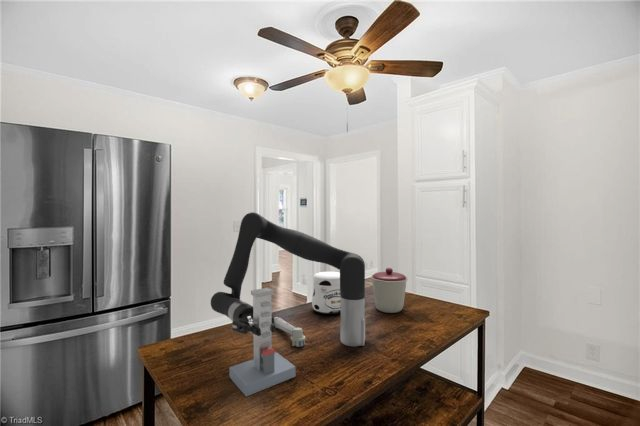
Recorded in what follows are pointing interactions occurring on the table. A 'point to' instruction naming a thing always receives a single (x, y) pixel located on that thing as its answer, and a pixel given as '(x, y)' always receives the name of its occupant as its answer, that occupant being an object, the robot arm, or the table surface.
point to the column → (262, 323)
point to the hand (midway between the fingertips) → (266, 330)
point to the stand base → (262, 373)
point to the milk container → (326, 293)
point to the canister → (389, 290)
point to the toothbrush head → (291, 331)
